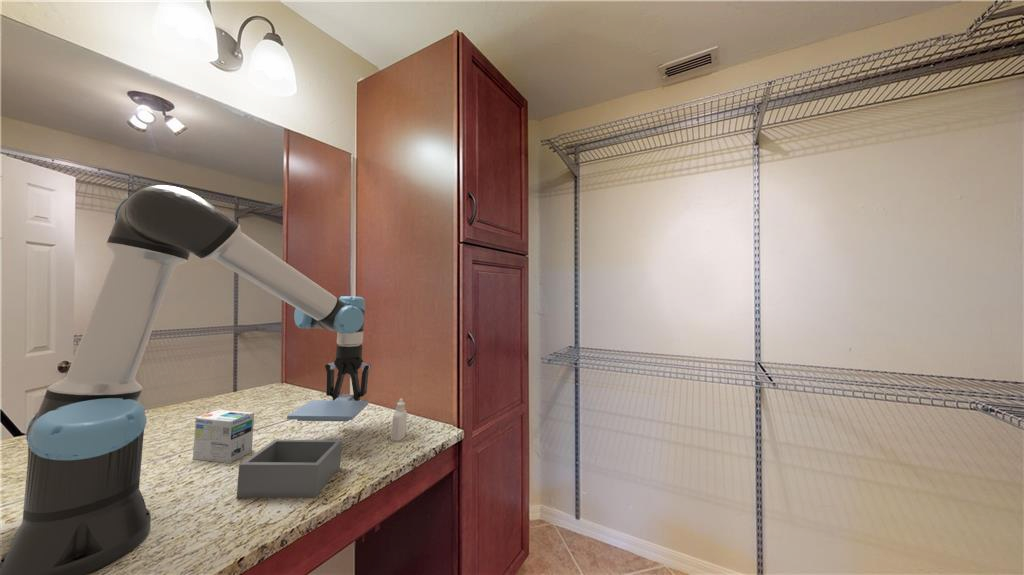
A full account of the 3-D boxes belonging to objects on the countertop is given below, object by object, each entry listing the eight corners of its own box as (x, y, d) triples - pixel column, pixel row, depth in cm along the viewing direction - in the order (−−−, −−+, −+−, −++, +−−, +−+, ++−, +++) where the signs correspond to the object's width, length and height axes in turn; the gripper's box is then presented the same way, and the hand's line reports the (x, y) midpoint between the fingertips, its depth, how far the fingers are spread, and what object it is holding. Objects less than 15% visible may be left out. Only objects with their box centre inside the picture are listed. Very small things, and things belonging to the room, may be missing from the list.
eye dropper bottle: (386, 438, 100) (388, 399, 100) (401, 432, 104) (404, 395, 105) (395, 442, 97) (397, 402, 98) (410, 436, 102) (413, 398, 102)
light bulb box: (253, 451, 88) (256, 411, 88) (229, 464, 81) (232, 421, 81) (217, 447, 89) (220, 408, 89) (190, 460, 82) (194, 417, 82)
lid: (286, 425, 86) (287, 415, 86) (321, 401, 104) (321, 393, 104) (351, 425, 87) (352, 416, 87) (374, 402, 106) (374, 394, 106)
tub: (236, 498, 69) (239, 464, 69) (272, 467, 80) (275, 439, 81) (315, 497, 70) (318, 464, 70) (340, 468, 82) (341, 440, 82)
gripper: (380, 343, 108) (376, 413, 108) (327, 341, 107) (323, 412, 106) (373, 347, 101) (368, 422, 100) (315, 345, 99) (311, 422, 99)
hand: (345, 417), depth 103 cm, fingers closed on lid, 4 cm apart
